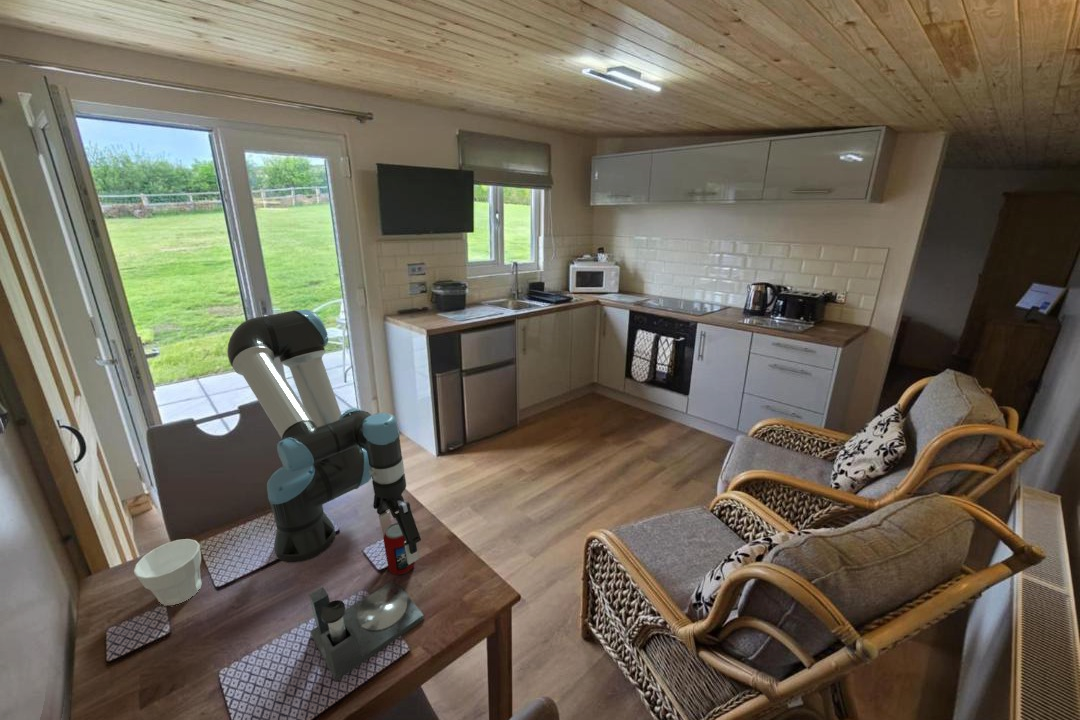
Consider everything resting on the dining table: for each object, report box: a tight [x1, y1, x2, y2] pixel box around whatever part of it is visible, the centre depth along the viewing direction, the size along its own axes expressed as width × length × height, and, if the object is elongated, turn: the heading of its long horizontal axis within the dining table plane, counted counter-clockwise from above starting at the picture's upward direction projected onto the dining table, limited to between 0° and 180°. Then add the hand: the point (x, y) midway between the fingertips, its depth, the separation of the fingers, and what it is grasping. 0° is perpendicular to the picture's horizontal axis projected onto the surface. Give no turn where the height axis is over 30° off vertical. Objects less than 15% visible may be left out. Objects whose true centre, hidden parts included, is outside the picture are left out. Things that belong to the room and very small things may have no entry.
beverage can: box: [382, 522, 416, 575], centre depth 116 cm, size 7×7×12 cm
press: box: [308, 579, 425, 683], centre depth 99 cm, size 14×20×10 cm
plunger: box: [321, 599, 347, 647], centre depth 90 cm, size 4×4×9 cm
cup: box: [133, 538, 203, 605], centre depth 109 cm, size 12×12×11 cm
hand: (399, 547), depth 115 cm, fingers open, 13 cm apart
